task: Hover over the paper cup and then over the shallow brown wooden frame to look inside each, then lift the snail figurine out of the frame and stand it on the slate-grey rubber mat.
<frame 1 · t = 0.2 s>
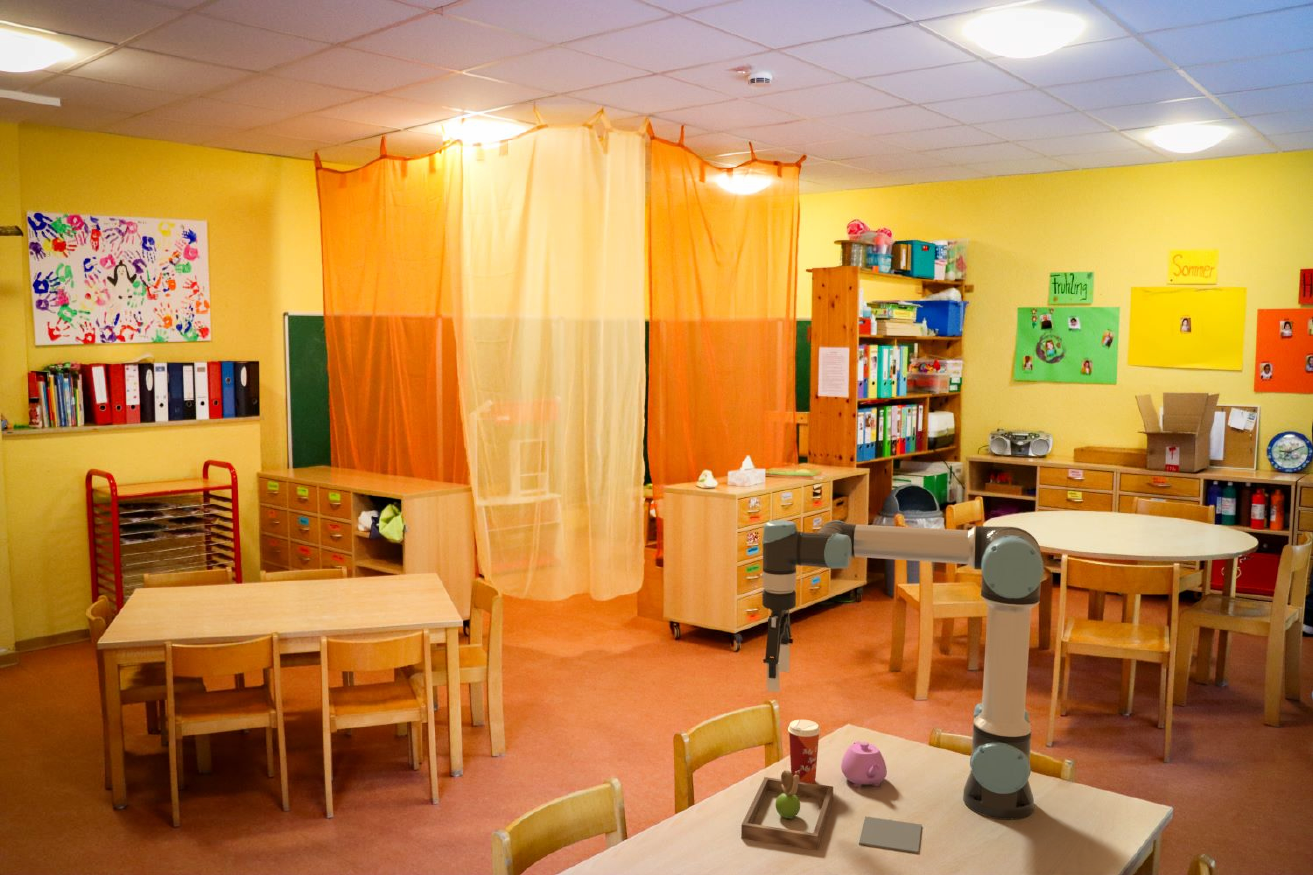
hand: (778, 681, 227), 28 cm above the table, fingers open, 13 cm apart
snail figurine: (789, 818, 220), resting in brown wooden frame
paper cup: (803, 782, 238), on the table
slate mat: (890, 835, 212), on the table
brown wooden frame: (789, 817, 220), on the table
pink rounded piece: (864, 783, 237), on the table
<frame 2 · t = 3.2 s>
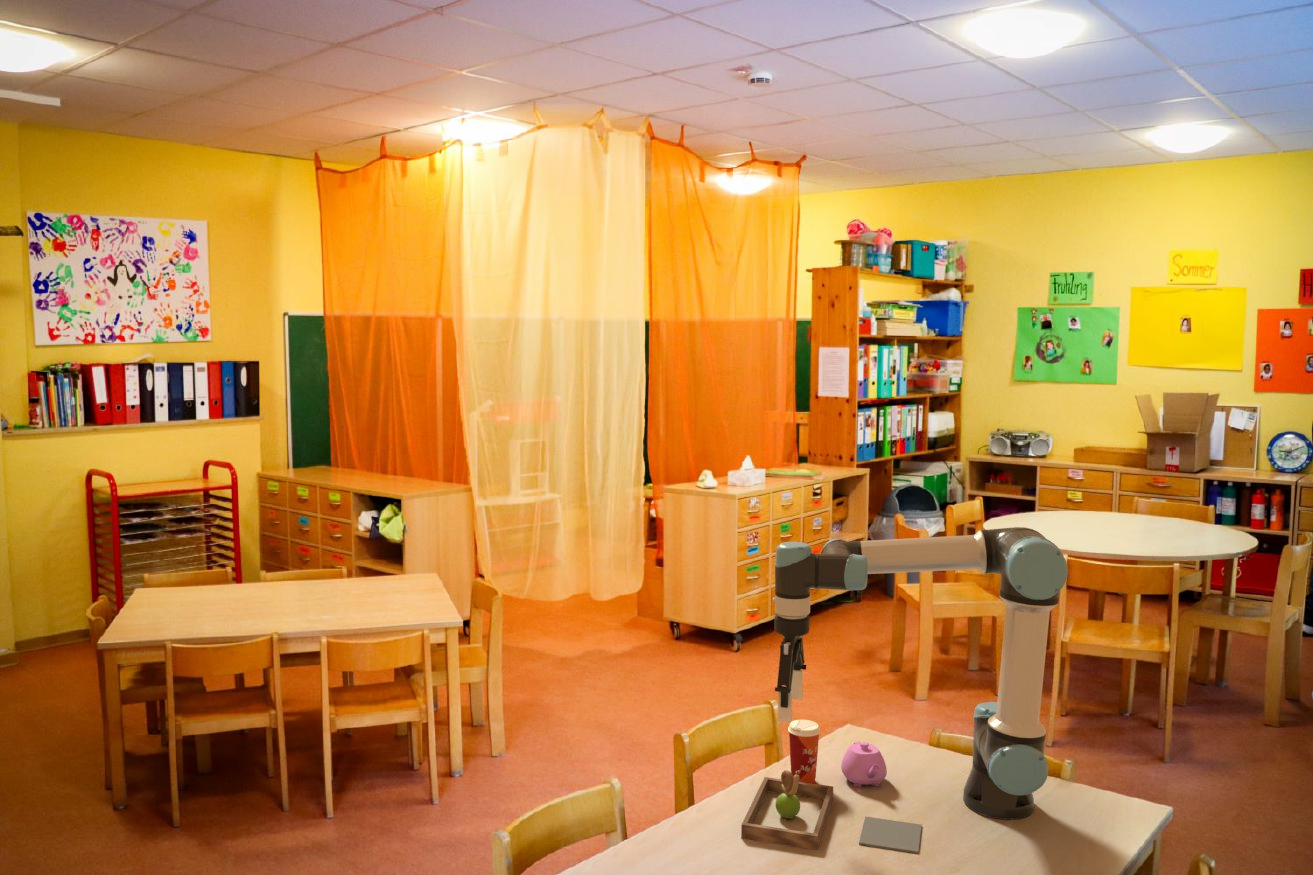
hand: (790, 709, 217), 25 cm above the table, fingers open, 13 cm apart
nothing on the table moved.
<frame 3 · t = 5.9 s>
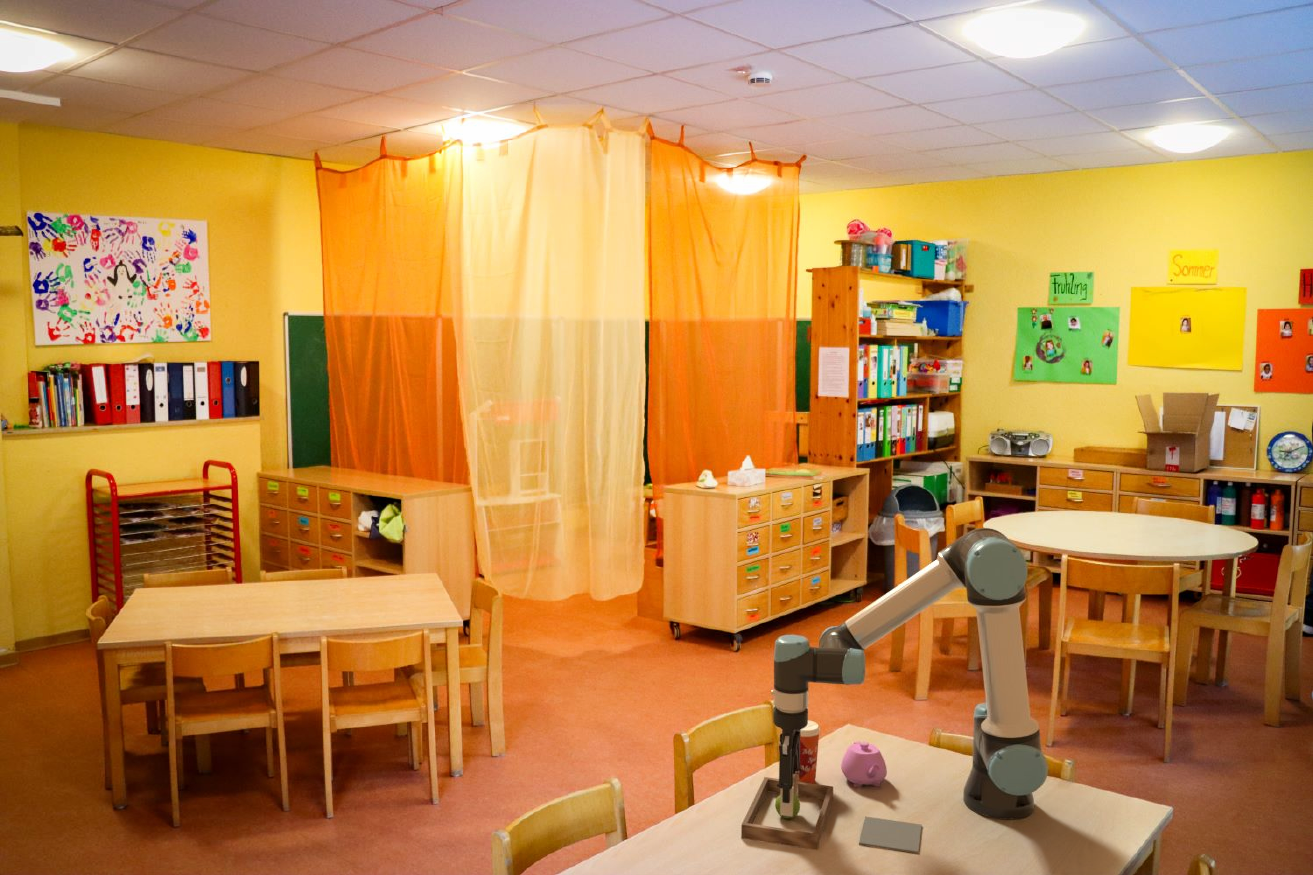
hand: (789, 808, 220), 2 cm above the table, fingers closed on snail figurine, 5 cm apart
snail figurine: (788, 818, 220), resting in brown wooden frame, touching gripper
everything else where it was.
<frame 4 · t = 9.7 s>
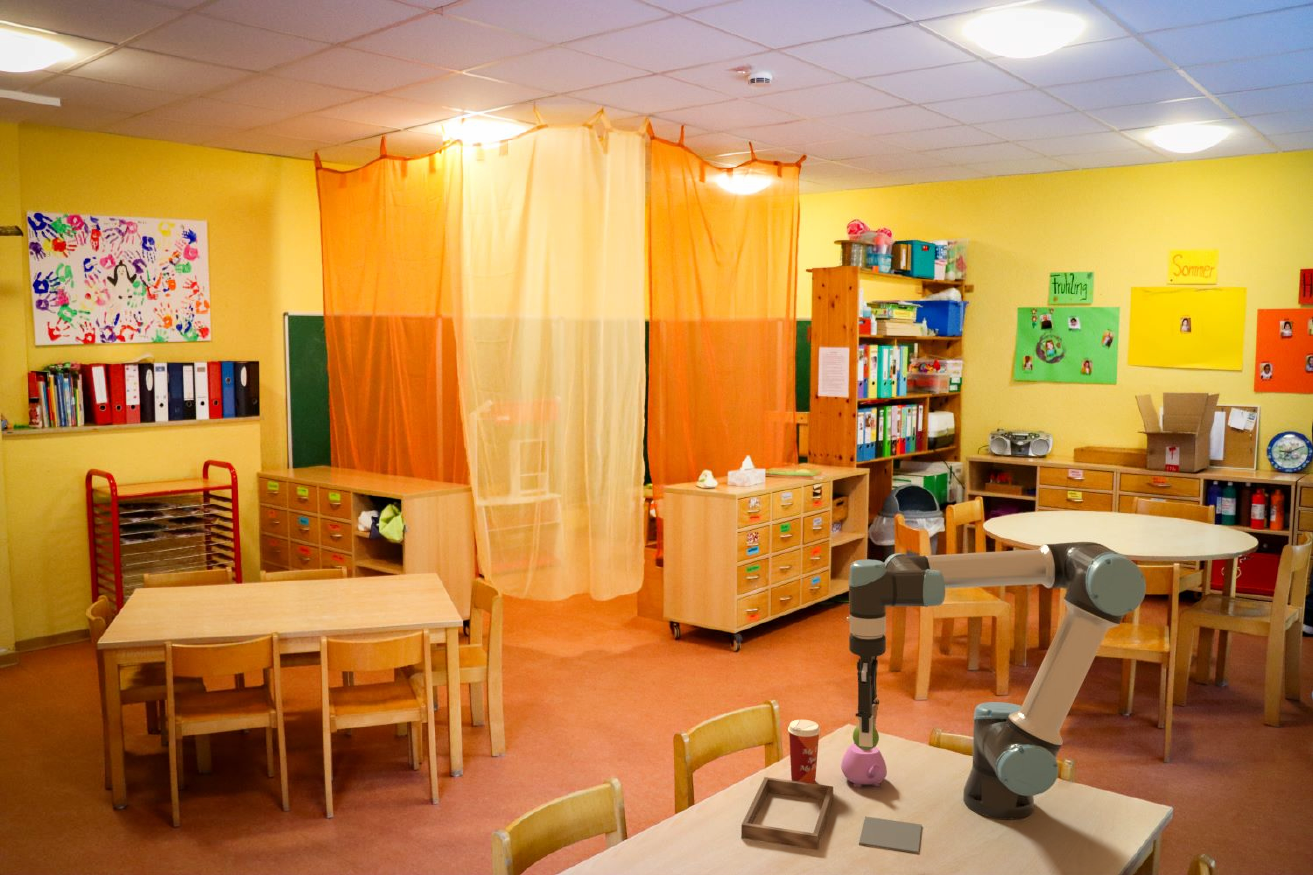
hand: (867, 739, 212), 20 cm above the table, fingers closed on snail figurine, 5 cm apart
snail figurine: (867, 750, 212), point 18 cm above the table, touching gripper
everything else where it was.
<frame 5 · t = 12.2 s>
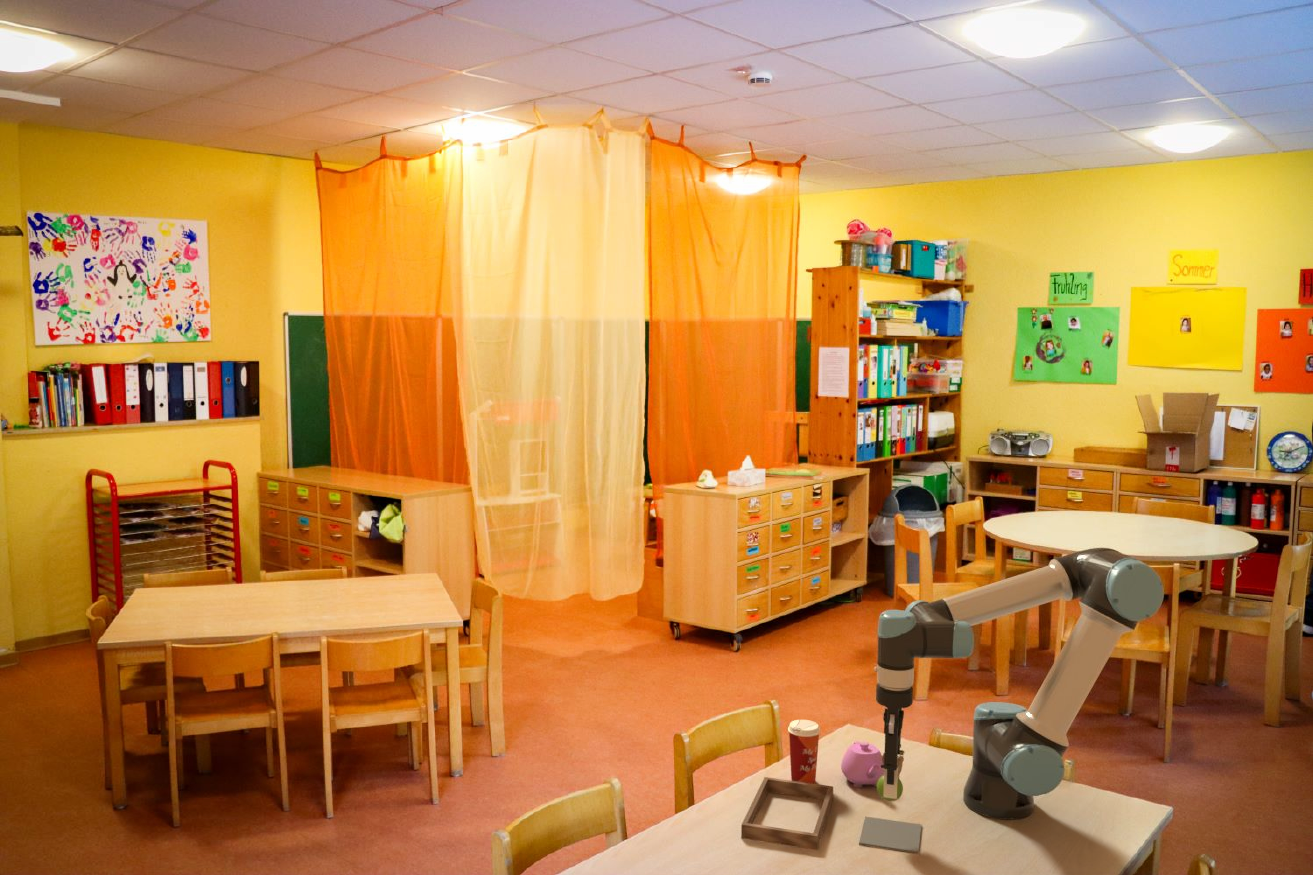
hand: (891, 790, 211), 10 cm above the table, fingers closed on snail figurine, 5 cm apart
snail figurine: (890, 801, 211), point 8 cm above the table, touching gripper
everything else where it was.
when the fingers open (4 cm above the table, at t = 13.7 s): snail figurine drops 1 cm, resting on slate mat.
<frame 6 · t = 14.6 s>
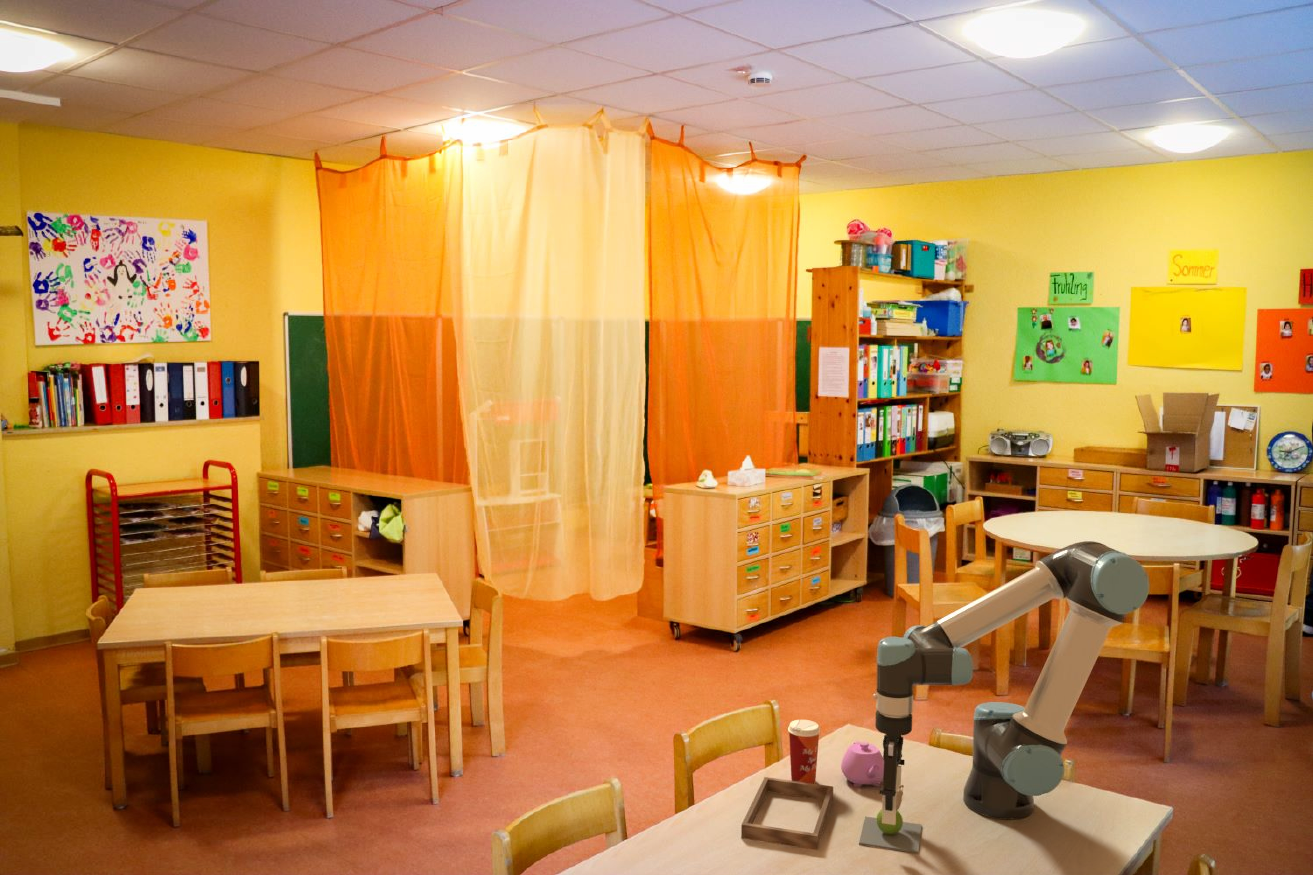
hand: (891, 808, 212), 6 cm above the table, fingers open, 13 cm apart
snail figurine: (891, 834, 212), resting on slate mat
everything else where it was.
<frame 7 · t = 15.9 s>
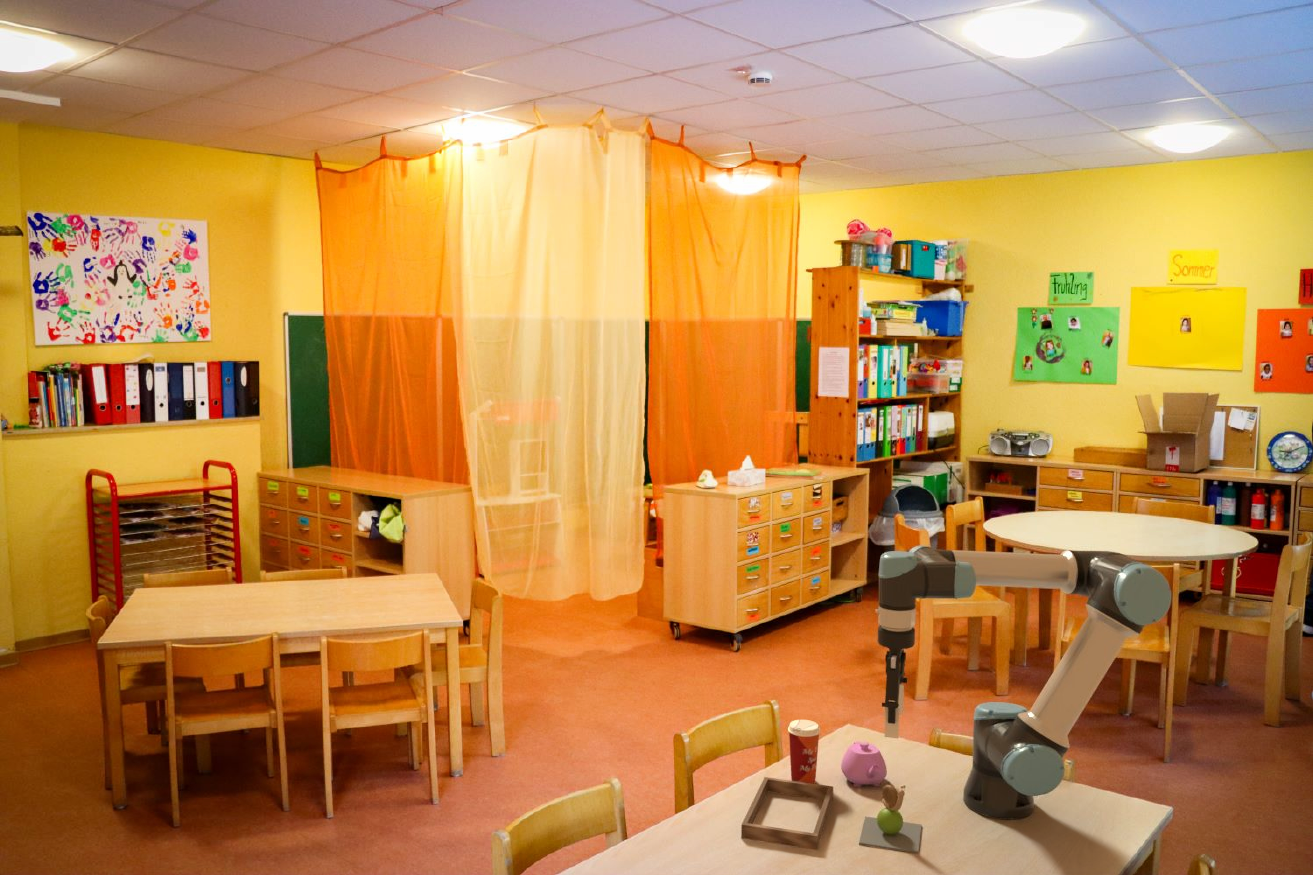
hand: (894, 724, 210), 24 cm above the table, fingers open, 13 cm apart
nothing on the table moved.
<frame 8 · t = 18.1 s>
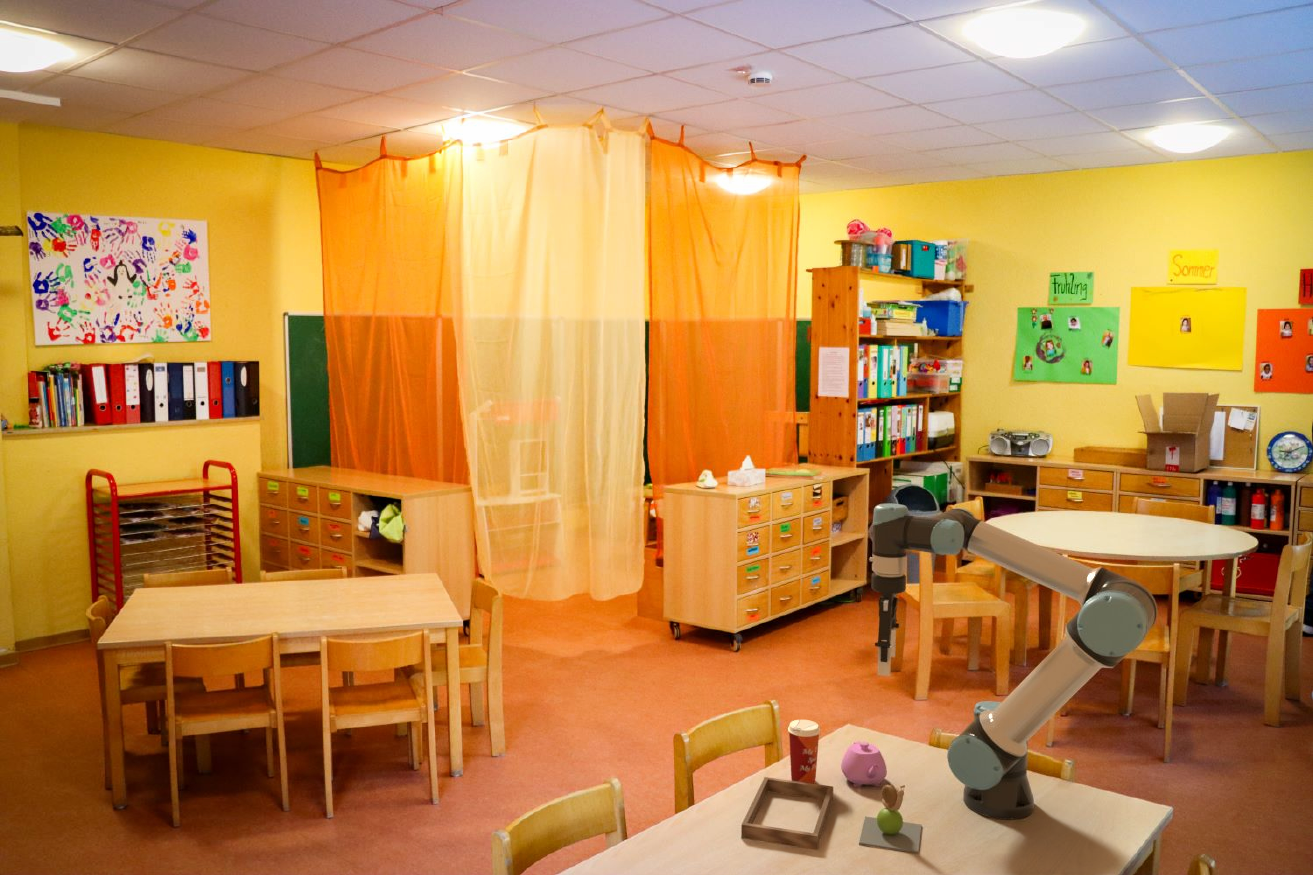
hand: (886, 665, 225), 32 cm above the table, fingers open, 13 cm apart
nothing on the table moved.
at the end: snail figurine inside the target area on the slate mat (0.3 cm from its centre), point 0.2 cm above the slate mat's base; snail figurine tilted 0°; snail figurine touching slate mat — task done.
